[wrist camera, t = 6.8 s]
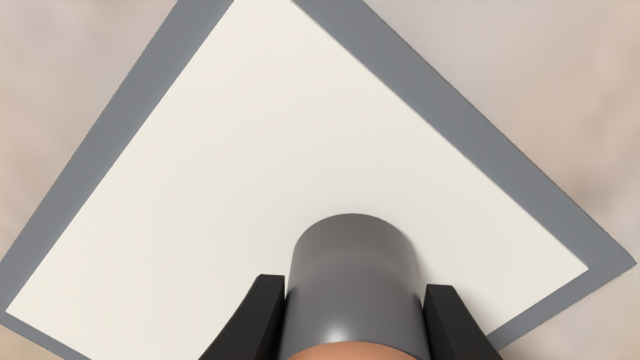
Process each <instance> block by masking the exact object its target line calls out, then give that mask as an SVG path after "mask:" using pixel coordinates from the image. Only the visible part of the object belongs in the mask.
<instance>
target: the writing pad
mask: <svg viewBox="0 0 640 360" xmlns="http://www.w3.org/2000/svg"><path fill="white" fill-rule="evenodd" d="M346 213H357V214H366V215H371V216H374V217H377V218H380V219H382V220H385V221H387V222H388V223H390V224H392V225H393V226H394V227H396V228H397V229H398V230H399V231H400V232H401V233H402V234H403V235H404V236H405V238H406V239H407V240H408V242H409V244H410V246H411V249H412V252H413V257H414V263H415V269H416V274H417V280H418V286H419V292H420V297H421V303H422V309H423V303H424V297H425V291H426V285H427V284H440V285H452V286H453V287H454V288H455V289H456V291H457V293H458V294H459V296H460V298H461V299H462V301H463V302H464V304H465V306H466V307H467V309H468V310H469V312H470V313H471V315H472V316H473V318H474V319H475V321H476V322H477V324H478V325H479V327H480V328H481V330H482V331H483V333H484V334H485V336H486V337H487V338H488V340H489V341H490V343H491V344H492V345H493V347H494V348H495V349H496V351H498V350H500V349H502V348H503V347H505V346H506V345H508V344H510V343H511V342H513V341H514V340H516V339H518V338H519V337H521V336H522V335H524V334H526V333H527V332H529V331H530V330H532V329H534V328H535V327H537V326H539V325H540V324H542V323H543V322H545V321H547V320H548V319H550V318H551V317H553V316H555V315H556V314H558V313H559V312H561V311H563V310H564V309H566V308H567V307H569V306H571V305H572V304H574V303H575V302H577V301H579V300H580V299H582V298H583V297H585V296H587V295H588V294H590V293H592V292H593V291H595V290H596V289H598V288H600V287H601V286H603V285H604V284H606V283H608V282H609V281H611V280H612V279H614V278H616V277H617V276H619V275H620V274H622V273H624V272H625V271H627V270H628V269H630V268H632V267H633V266H635V265H636V264H637V263H636V261H635V260H634V259H633V257H632V256H631V255H630V254H629V253H628V252H627V251H626V250H625V249H624V248H623V247H622V246H621V245H619V244H618V243H617V242H616V241H615V240H614V239H613V238H612V237H611V236H610V235H609V234H608V233H607V232H606V231H605V230H604V229H603V228H602V227H600V226H599V225H598V224H597V223H596V222H595V221H594V220H593V219H592V218H591V217H590V216H589V215H588V214H587V213H586V212H585V211H584V210H583V209H581V208H580V207H579V206H578V205H577V204H576V203H575V202H574V201H573V200H572V199H571V198H570V197H569V196H568V195H567V194H566V193H565V192H564V191H563V190H561V189H560V188H559V187H558V186H557V185H556V184H555V183H554V182H553V181H552V180H551V179H550V178H549V177H548V176H547V175H546V174H545V173H544V172H542V171H541V170H540V169H539V168H538V167H537V166H536V165H535V164H534V163H533V162H532V161H531V160H530V159H529V158H528V157H527V156H526V155H525V154H524V153H522V152H521V151H520V150H519V149H518V148H517V147H516V146H515V145H514V144H513V143H512V142H511V141H510V140H509V139H508V138H507V137H506V136H505V135H503V134H502V133H501V132H500V131H499V130H498V129H497V128H496V127H495V126H494V125H493V124H492V123H491V122H490V121H489V120H488V119H487V118H486V117H485V116H483V115H482V114H481V113H480V112H479V111H478V110H477V109H476V108H475V107H474V106H473V105H472V104H471V103H470V102H469V101H468V100H467V99H466V98H464V97H463V96H462V95H461V94H460V93H459V92H458V91H457V90H456V89H455V88H454V87H453V86H452V85H451V84H450V83H449V82H448V81H447V80H446V79H444V78H443V77H442V76H441V75H440V74H439V73H438V72H437V71H436V70H435V69H434V68H433V67H432V66H431V65H430V64H429V63H428V62H427V61H425V60H424V59H423V58H422V57H421V56H420V55H419V54H418V53H417V52H416V51H415V50H414V49H413V48H412V47H411V46H410V45H409V44H408V43H407V42H405V41H404V40H403V39H402V38H401V37H400V36H399V35H398V34H397V33H396V32H395V31H394V30H393V29H392V28H391V27H390V26H389V25H388V24H386V23H385V22H384V21H383V20H382V19H381V18H380V17H379V16H378V15H377V14H376V13H375V12H374V11H373V10H372V9H371V8H370V7H369V6H368V5H366V4H365V3H364V2H363V1H362V0H178V1H177V3H176V4H175V6H174V7H173V9H172V10H171V12H170V13H169V15H168V16H167V17H166V19H165V20H164V22H163V23H162V25H161V26H160V28H159V29H158V31H157V32H156V34H155V35H154V37H153V38H152V40H151V41H150V43H149V44H148V45H147V47H146V48H145V50H144V51H143V53H142V54H141V56H140V57H139V59H138V60H137V62H136V63H135V65H134V66H133V68H132V69H131V71H130V72H129V73H128V75H127V76H126V78H125V79H124V81H123V82H122V84H121V85H120V87H119V88H118V90H117V91H116V93H115V94H114V96H113V97H112V99H111V100H110V101H109V103H108V104H107V106H106V107H105V109H104V110H103V112H102V113H101V115H100V116H99V118H98V119H97V121H96V122H95V124H94V125H93V127H92V128H91V129H90V131H89V132H88V134H87V135H86V137H85V138H84V140H83V141H82V143H81V144H80V146H79V147H78V149H77V150H76V152H75V153H74V155H73V156H72V158H71V159H70V160H69V162H68V163H67V165H66V166H65V168H64V169H63V171H62V172H61V174H60V175H59V177H58V178H57V180H56V181H55V183H54V184H53V186H52V187H51V188H50V190H49V191H48V193H47V194H46V196H45V197H44V199H43V200H42V202H41V203H40V205H39V206H38V208H37V209H36V211H35V212H34V214H33V215H32V216H31V218H30V219H29V221H28V222H27V224H26V225H25V227H24V228H23V230H22V231H21V233H20V234H19V236H18V237H17V239H16V240H15V242H14V243H13V244H12V246H11V247H10V249H9V250H8V252H7V253H6V255H5V256H4V258H3V259H2V261H1V262H0V324H1V325H3V326H5V327H6V328H8V329H10V330H12V331H14V332H16V333H17V334H19V335H21V336H23V337H25V338H27V339H28V340H30V341H32V342H34V343H36V344H38V345H39V346H41V347H43V348H45V349H47V350H49V351H50V352H52V353H54V354H56V355H58V356H60V357H61V358H63V359H65V360H198V359H199V358H200V356H201V355H202V354H203V353H204V352H205V350H206V349H207V348H208V347H209V345H210V344H211V343H212V342H213V341H214V339H215V338H216V337H217V336H218V334H219V333H220V332H221V330H222V329H223V328H224V326H225V325H226V323H227V322H228V321H229V319H230V318H231V317H232V315H233V314H234V312H235V311H236V309H237V308H238V307H239V305H240V304H241V302H242V301H243V299H244V297H245V296H246V294H247V293H248V291H249V289H250V288H251V286H252V284H253V283H254V281H255V279H256V277H257V276H259V275H260V274H271V275H285V298H286V292H287V286H288V279H289V273H290V267H291V261H292V255H293V250H294V247H295V244H296V243H297V241H298V239H299V238H300V236H301V235H302V234H303V233H304V232H305V231H306V230H307V229H308V228H309V227H310V226H312V225H313V224H315V223H316V222H318V221H320V220H322V219H325V218H327V217H330V216H334V215H339V214H346Z"/></svg>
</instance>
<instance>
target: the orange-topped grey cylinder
mask: <svg viewBox="0 0 640 360" xmlns="http://www.w3.org/2000/svg"><path fill="white" fill-rule="evenodd" d="M276 360H431V355H430V349H429V343H428V337H427V332H426V326H425V320H424V314H423V309H422V303H421V297H420V292H419V286H418V280H417V274H416V269H415V263H414V257H413V252H412V249H411V246H410V244H409V242H408V240H407V239H406V238H405V236H404V235H403V234H402V233H401V232H400V231H399V230H398V229H397V228H396V227H394V226H393V225H392V224H390V223H388V222H387V221H385V220H382V219H380V218H377V217H374V216H371V215H366V214H357V213H346V214H339V215H334V216H330V217H327V218H325V219H322V220H320V221H318V222H316V223H315V224H313V225H312V226H310V227H309V228H308V229H307V230H306V231H305V232H304V233H303V234H302V235H301V236H300V238H299V239H298V241H297V243H296V244H295V247H294V250H293V255H292V261H291V267H290V273H289V279H288V286H287V292H286V298H285V304H284V310H283V316H282V323H281V329H280V335H279V341H278V347H277V354H276Z"/></svg>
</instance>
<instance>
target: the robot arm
mask: <svg viewBox="0 0 640 360" xmlns="http://www.w3.org/2000/svg"><path fill="white" fill-rule="evenodd" d="M284 304H285V275H271V274H260V275H259V276H257V277H256V279H255V281H254V283H253V284H252V286H251V288H250V289H249V291H248V293H247V294H246V296H245V297H244V299H243V301H242V302H241V304H240V305H239V307H238V308H237V309H236V311H235V312H234V314H233V315H232V317H231V318H230V319H229V321H228V322H227V323H226V325H225V326H224V328H223V329H222V330H221V332H220V333H219V334H218V336H217V337H216V338H215V339H214V341H213V342H212V343H211V344H210V345H209V347H208V348H207V349H206V350H205V352H204V353H203V354H202V355H201V356H200V358H199V359H198V360H276V354H277V347H278V341H279V335H280V329H281V323H282V316H283V310H284ZM423 314H424V320H425V326H426V332H427V337H428V343H429V349H430V355H431V360H503V359H502V358H501V356H500V355H499V353H498V352H497V351H496V349H495V348H494V347H493V345H492V344H491V343H490V341H489V340H488V338H487V337H486V336H485V334H484V333H483V331H482V330H481V328H480V327H479V325H478V324H477V322H476V321H475V319H474V318H473V316H472V315H471V313H470V312H469V310H468V309H467V307H466V306H465V304H464V302H463V301H462V299H461V298H460V296H459V294H458V293H457V291H456V289H455V288H454V287H453V286H452V285H440V284H427V285H426V291H425V297H424V303H423Z"/></svg>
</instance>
